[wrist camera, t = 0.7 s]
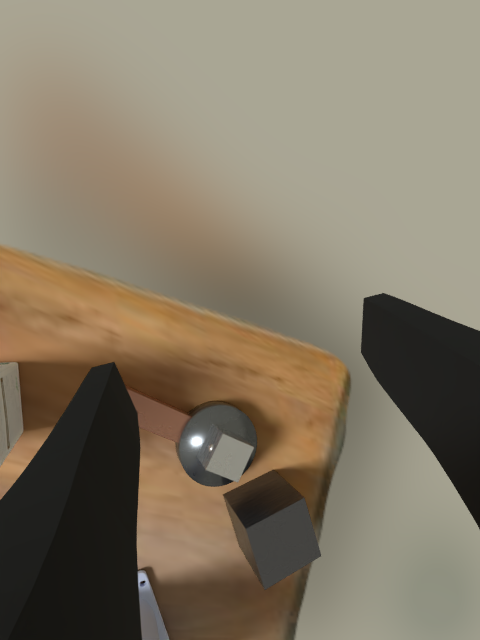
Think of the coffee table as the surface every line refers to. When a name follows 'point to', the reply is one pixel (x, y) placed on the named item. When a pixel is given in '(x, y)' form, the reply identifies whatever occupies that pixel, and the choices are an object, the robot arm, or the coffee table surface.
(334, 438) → the coffee table surface
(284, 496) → the socket
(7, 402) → the syrup box
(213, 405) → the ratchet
